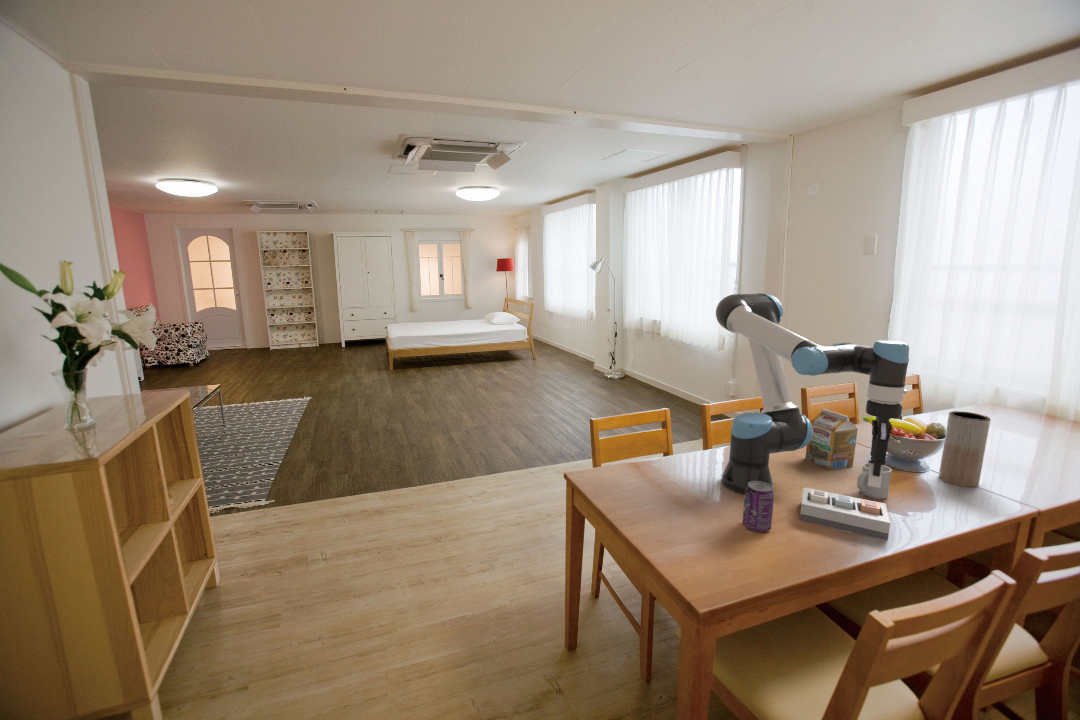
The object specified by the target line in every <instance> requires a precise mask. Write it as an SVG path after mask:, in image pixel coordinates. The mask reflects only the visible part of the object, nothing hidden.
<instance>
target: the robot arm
mask: <svg viewBox="0 0 1080 720" xmlns="http://www.w3.org/2000/svg"><path fill="white" fill-rule="evenodd" d="M783 315H784V308H783V305H782V303H781V302H780V300H779V299H778V298H777V297H776V296H774V295H772V294H770V293H769V294H768V293H761V292H760V293H759V292H758V293H742V294H741V293H734V294H730V295H727V296H725V297H723V298H722V299H721V300H720V301H719V302H718V304H717V306H716V310H715V318H716V320H717V323H718V324H719V325H720V326H721V327H722V328H723V329H725V330H727V331H728V332H730V333H733V334H740V335H742V336H743V337H744V338H747V340H748V341H749V347H750V351H751V355H752V361H753V365H754V369H755V373H756V377H757V382H758V386H759V391H760V395H761V399H762V403H763V404H762V405H763V409H762V410H761V411H760V412H744V413H740V414H738V415H735V416H734V418H733V419H732V424H731V427H730V443H729V444H730V447H729V459H728V462H727V464H726V466H725V468H724V471H723V473H722V475H721V483H722V485H723V486H724V487H725V488H727V489H728V490H730V491H732V492H735V493H738V494H741V495H745V489H746V488H747V486H748V482H751V481H761V482H765V483H768V484H770V485H771V486H772V487H773V488H774V485H773V484H774V482H773V479H772V475H771V471H770V467H769V463H770V454H776V453H783V452H784V453H785V452H795V451H797V450H800V449H803V448H806V447H807V445H808V443H809V441H810V440H811V438H812V434H813V429H812V425H811V422H810V421H811V420H810V419H809V418H807V416H806V415H805V414H803V413H801V411H800V408H799V406H798V405H796V404H794V403H793V401H792V396H791V393H790V389H789V388H790V387H789V385H788V384H789V383H788V379H787V375H786V372H785V367H784V362H783V359H782V358H784V359H785V360H787V361H789V362H791V366H792V368H793V369H794V370H795V372H796V373H798V374H799V375H802V376H818V375H827V374H840V373H841V374H842V373H857V374H863V375H868V376H869V382H868V386H867V387H868V388H867V398H868V399H867V401H866V405H865V414H867V415H869V416H871V417H875V419H872V420H871V427H872V428H871V438H872V439H871V449H870V459H868V462H867V463H870V470H869V478H868V486H873V487H878V488H881V480H882V472H883V465H885V466H886V463H887V462H886V461H887V460H886V459H887V452H888V451H887V450H888V446H889V441H890V437H891V432H892V428H893V424H892V423H891V421H890V420H891V419H894V420H895V419H899V418H901V417H902V411H903V404H902V402H903V401H904V395H905V394H907V393H908V390H907V389H905V386H906V378H907V373H908V366H909V362H910V357H909V356H910V346H909V344H907V343H906V342H904V341H898V340H897V341H896V340H876V341H874V343H873V346H868V345H862V344H855V343H851V342H835V343H833V344H832V345H820V344H818V343H816V342H813V341H811V340H810V339H807V338H806V337H804V336H801V335H799V334H797V333H796V332H793V331H791V330H790V329H788V328H785V327H783V326H781V325H779V324H780V323H781V321H782V319H783V318H782V317H783Z"/></svg>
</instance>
